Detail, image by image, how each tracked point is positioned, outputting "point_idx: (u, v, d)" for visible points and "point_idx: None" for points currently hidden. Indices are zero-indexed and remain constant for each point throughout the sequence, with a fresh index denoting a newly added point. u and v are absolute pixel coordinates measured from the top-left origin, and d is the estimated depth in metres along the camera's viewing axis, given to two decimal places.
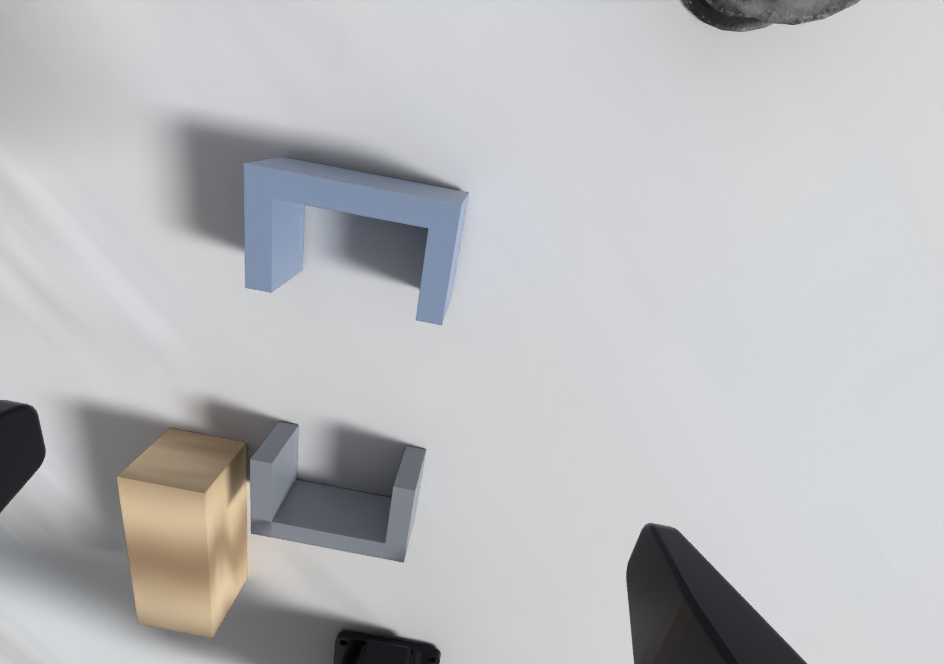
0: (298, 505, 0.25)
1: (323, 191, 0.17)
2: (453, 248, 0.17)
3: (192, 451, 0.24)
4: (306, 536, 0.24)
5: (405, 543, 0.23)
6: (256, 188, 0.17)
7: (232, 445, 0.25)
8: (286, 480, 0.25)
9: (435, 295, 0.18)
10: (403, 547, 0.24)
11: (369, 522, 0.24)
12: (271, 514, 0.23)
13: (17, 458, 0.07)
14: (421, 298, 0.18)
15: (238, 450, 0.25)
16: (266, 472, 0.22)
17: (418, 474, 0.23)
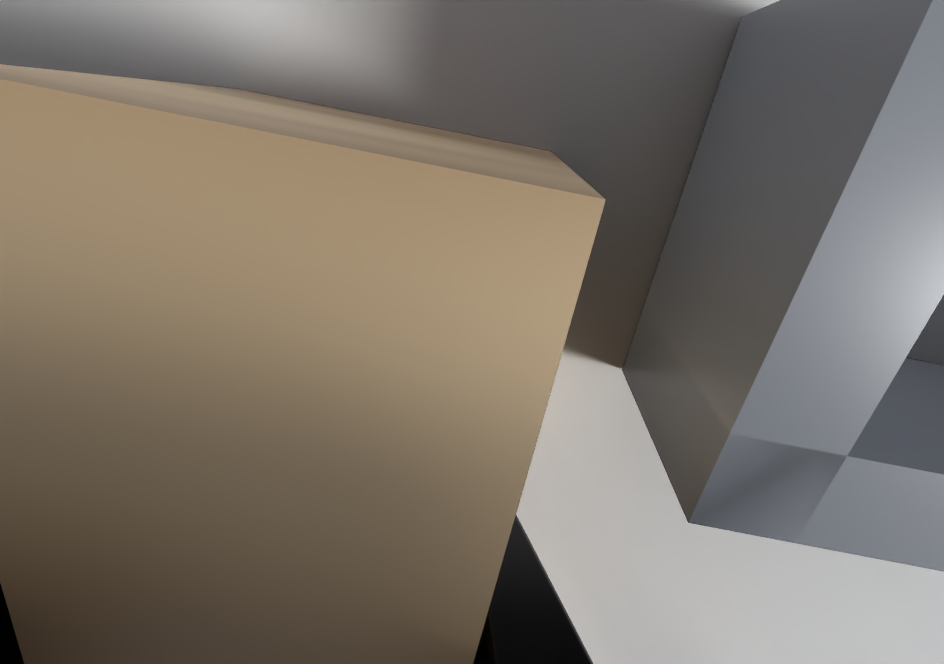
0: None
1: None
2: None
3: (357, 120, 0.05)
4: None
5: None
6: None
7: (510, 146, 0.06)
8: None
9: None
10: None
11: None
12: (868, 411, 0.04)
13: None
14: None
15: (551, 155, 0.05)
16: None
17: None
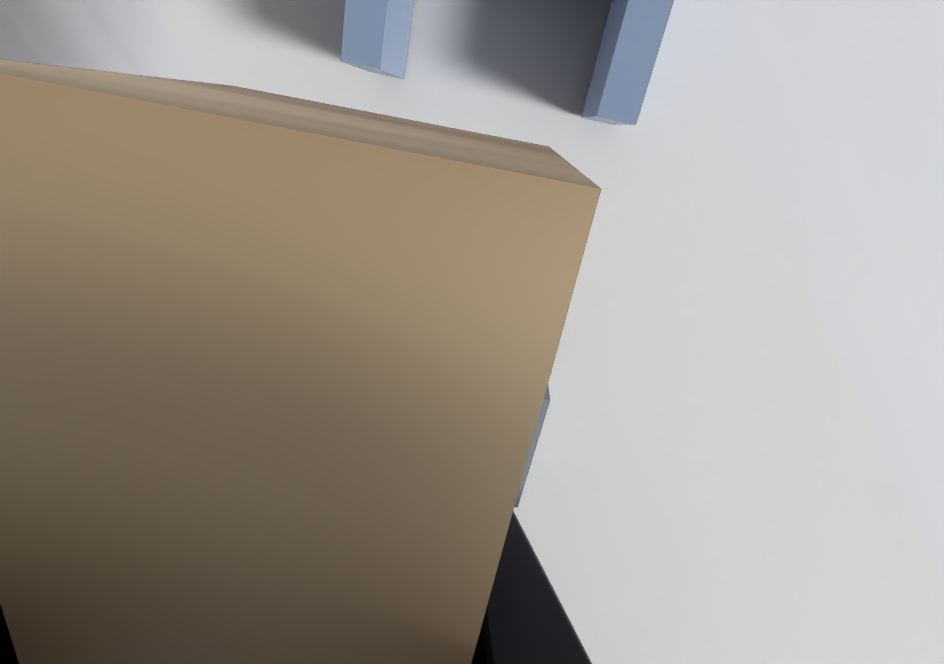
0: None
1: None
2: None
3: (352, 115, 0.05)
4: None
5: (524, 479, 0.17)
6: None
7: (507, 141, 0.06)
8: None
9: (635, 71, 0.12)
10: None
11: None
12: None
13: None
14: (611, 77, 0.12)
15: (549, 149, 0.05)
16: None
17: None
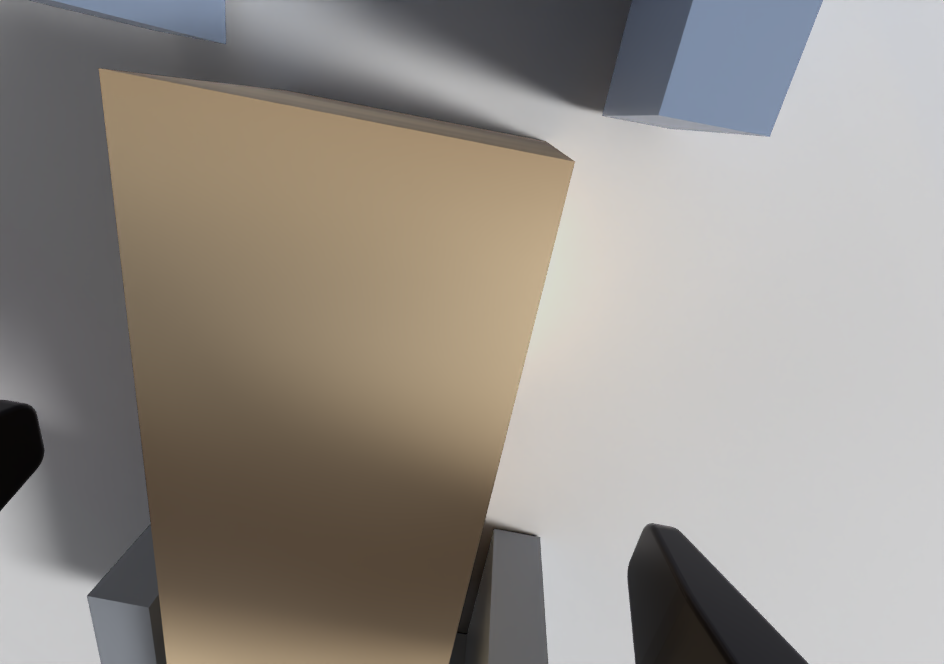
0: None
1: None
2: None
3: (397, 116, 0.06)
4: None
5: None
6: None
7: (512, 136, 0.07)
8: None
9: None
10: None
11: None
12: None
13: (16, 458, 0.07)
14: None
15: (545, 142, 0.07)
16: (138, 627, 0.08)
17: (542, 619, 0.09)
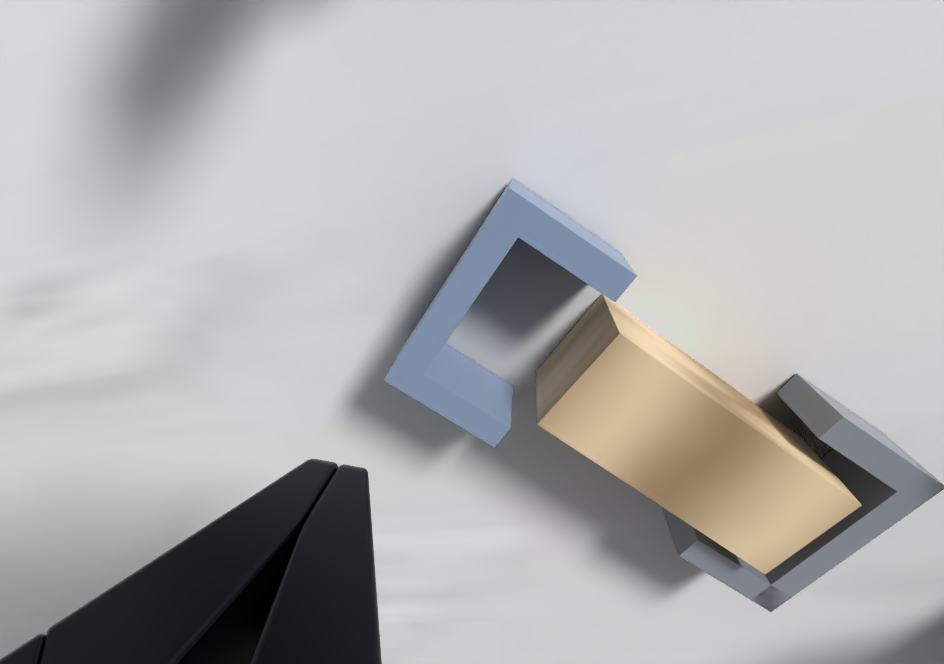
0: None
1: (436, 324, 0.16)
2: (553, 219, 0.14)
3: (570, 349, 0.18)
4: (817, 564, 0.18)
5: (916, 469, 0.16)
6: (409, 382, 0.17)
7: (594, 308, 0.18)
8: None
9: (597, 265, 0.14)
10: (921, 475, 0.16)
11: (852, 490, 0.18)
12: (761, 578, 0.18)
13: None
14: (592, 283, 0.15)
15: (603, 300, 0.17)
16: (705, 551, 0.18)
17: (823, 400, 0.17)
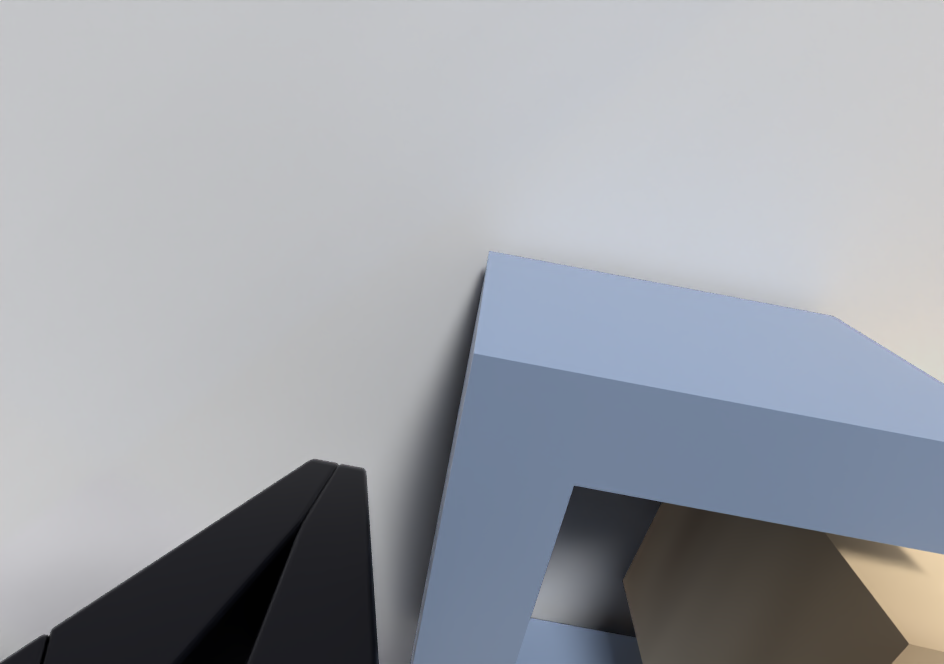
0: None
1: None
2: (679, 395, 0.04)
3: (694, 566, 0.07)
4: None
5: None
6: None
7: None
8: None
9: (901, 481, 0.04)
10: None
11: None
12: None
13: None
14: (895, 535, 0.04)
15: None
16: None
17: None
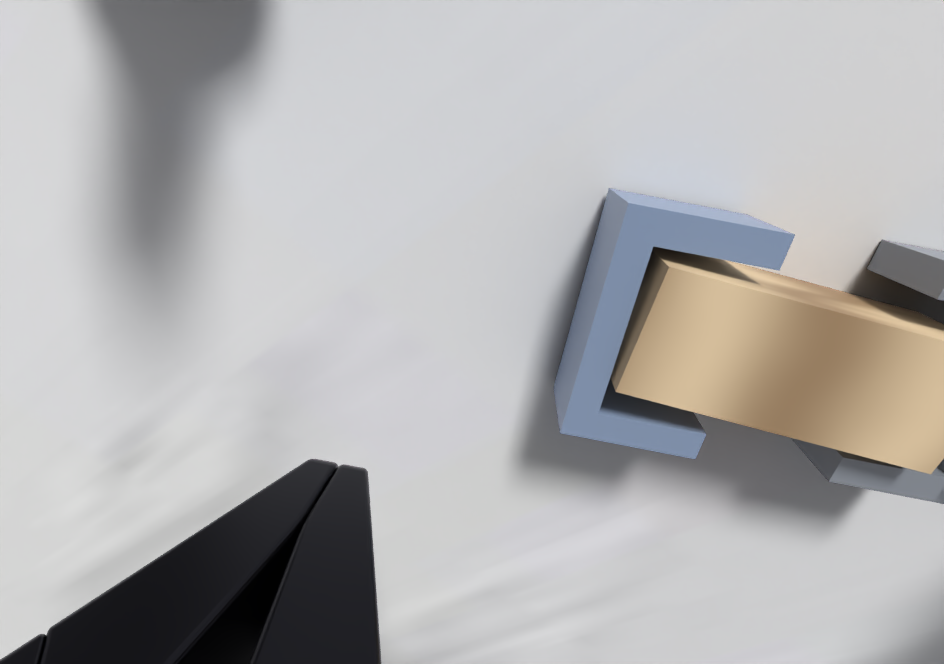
0: None
1: (595, 361, 0.15)
2: (684, 214, 0.13)
3: None
4: None
5: None
6: (586, 426, 0.16)
7: None
8: None
9: (747, 241, 0.13)
10: None
11: None
12: (936, 474, 0.16)
13: None
14: (748, 260, 0.14)
15: None
16: (856, 466, 0.16)
17: (926, 256, 0.14)
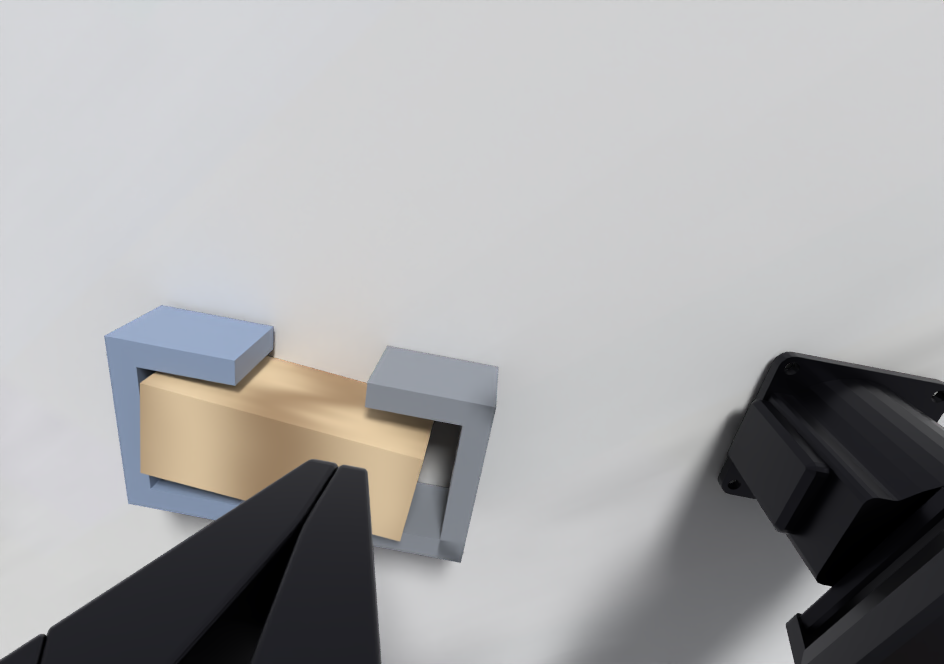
0: None
1: (131, 450, 0.19)
2: (149, 345, 0.17)
3: None
4: (458, 509, 0.19)
5: (460, 401, 0.17)
6: (145, 498, 0.20)
7: None
8: (420, 504, 0.21)
9: (202, 364, 0.17)
10: (468, 405, 0.17)
11: (460, 432, 0.19)
12: (429, 537, 0.20)
13: None
14: (209, 378, 0.17)
15: None
16: None
17: (375, 369, 0.18)
